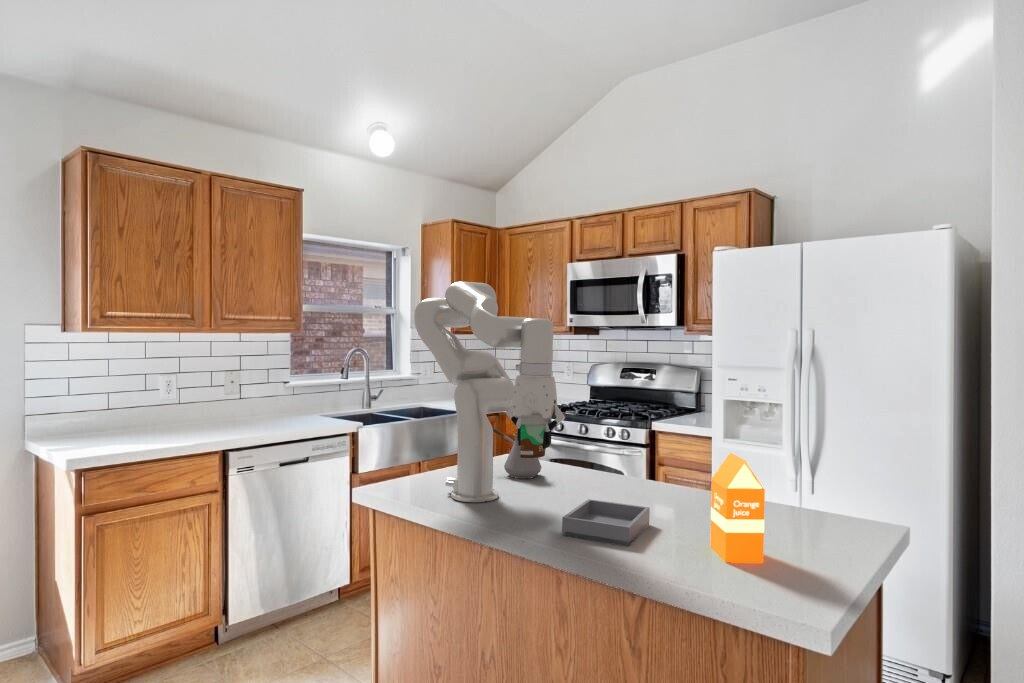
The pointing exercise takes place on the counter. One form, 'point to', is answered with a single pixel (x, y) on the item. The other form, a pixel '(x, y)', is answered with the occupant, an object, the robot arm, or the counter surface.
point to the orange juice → (737, 513)
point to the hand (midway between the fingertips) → (534, 445)
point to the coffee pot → (519, 460)
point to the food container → (532, 436)
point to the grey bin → (606, 522)
